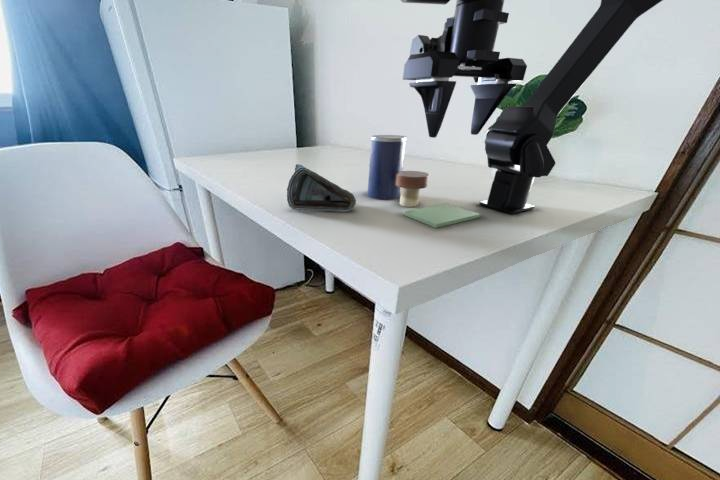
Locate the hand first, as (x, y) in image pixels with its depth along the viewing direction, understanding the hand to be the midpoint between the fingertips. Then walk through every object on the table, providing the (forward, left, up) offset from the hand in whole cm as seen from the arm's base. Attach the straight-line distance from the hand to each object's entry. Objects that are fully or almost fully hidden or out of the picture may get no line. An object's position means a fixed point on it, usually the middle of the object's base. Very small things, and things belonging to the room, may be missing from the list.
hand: (454, 135), depth 47 cm
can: (+2, -13, -12) cm, 18 cm away
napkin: (+2, +2, -12) cm, 12 cm away
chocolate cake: (+16, -13, -12) cm, 24 cm away
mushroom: (+2, -6, -12) cm, 13 cm away
